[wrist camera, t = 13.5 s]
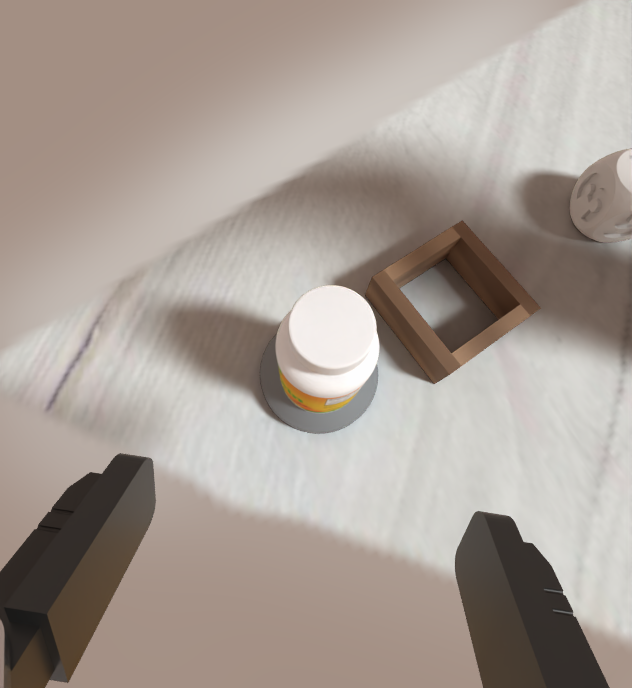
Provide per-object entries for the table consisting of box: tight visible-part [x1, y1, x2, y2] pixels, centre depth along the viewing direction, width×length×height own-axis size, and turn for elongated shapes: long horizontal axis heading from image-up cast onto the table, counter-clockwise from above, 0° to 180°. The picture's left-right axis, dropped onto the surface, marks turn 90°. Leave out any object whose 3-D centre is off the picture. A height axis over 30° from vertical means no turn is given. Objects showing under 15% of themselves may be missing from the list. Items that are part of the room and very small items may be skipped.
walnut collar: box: [365, 221, 541, 384], centre depth 28 cm, size 8×8×3 cm
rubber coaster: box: [260, 334, 378, 433], centre depth 27 cm, size 8×8×1 cm
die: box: [570, 148, 632, 243], centre depth 31 cm, size 5×5×5 cm
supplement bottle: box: [276, 285, 379, 413], centre depth 22 cm, size 5×5×10 cm
